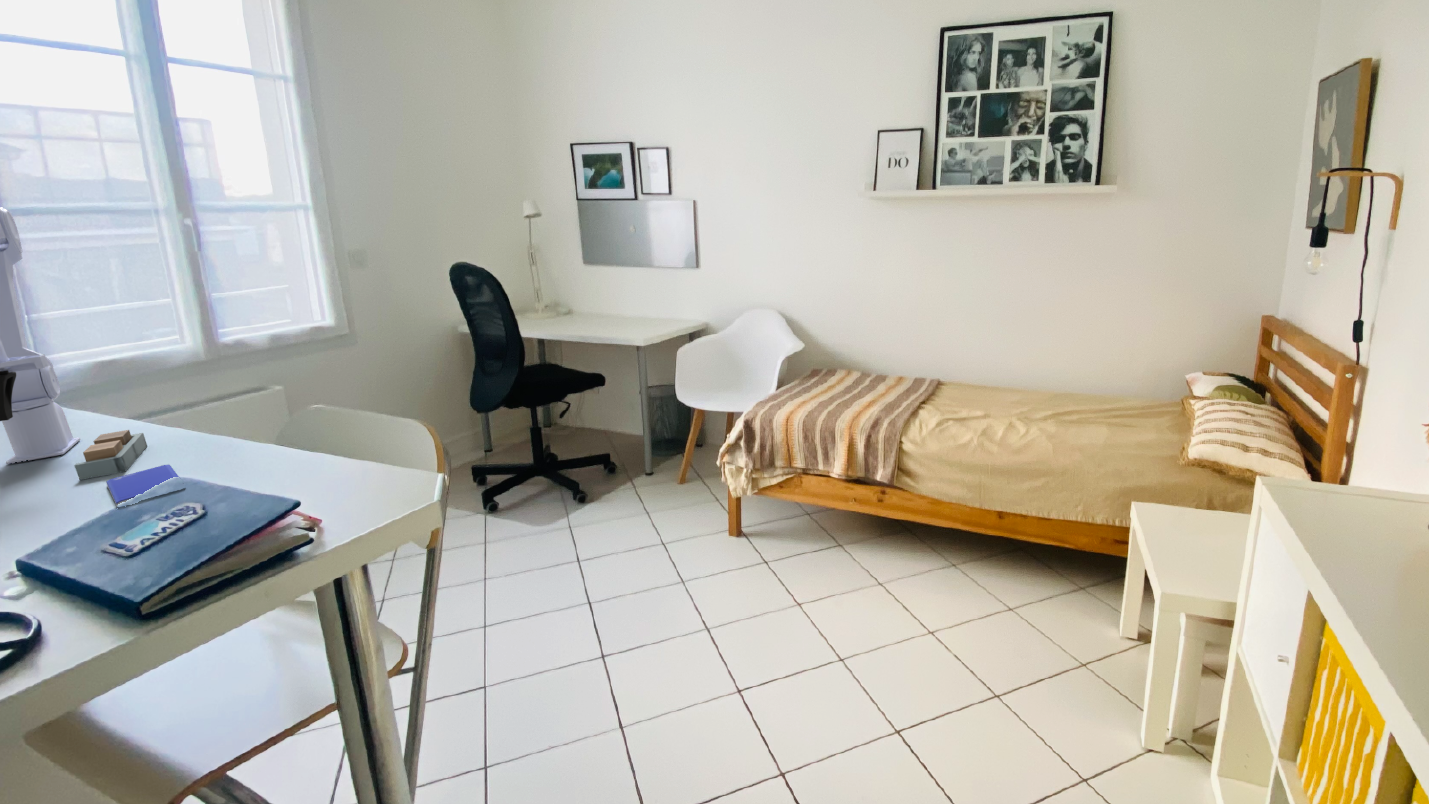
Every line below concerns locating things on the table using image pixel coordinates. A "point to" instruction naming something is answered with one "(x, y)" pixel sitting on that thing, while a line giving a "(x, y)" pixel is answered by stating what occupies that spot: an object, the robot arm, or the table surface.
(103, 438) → the seated block
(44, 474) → the table surface
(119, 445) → the block
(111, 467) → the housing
